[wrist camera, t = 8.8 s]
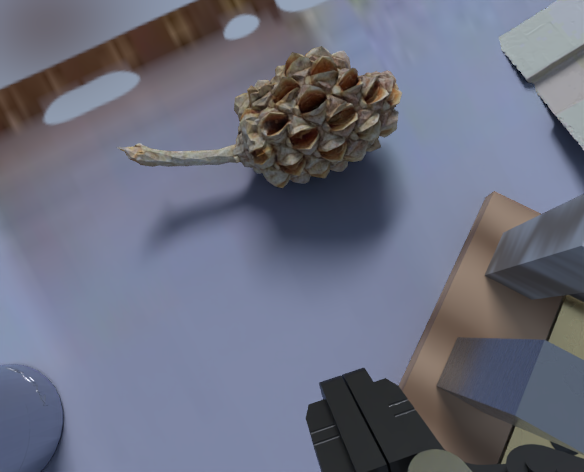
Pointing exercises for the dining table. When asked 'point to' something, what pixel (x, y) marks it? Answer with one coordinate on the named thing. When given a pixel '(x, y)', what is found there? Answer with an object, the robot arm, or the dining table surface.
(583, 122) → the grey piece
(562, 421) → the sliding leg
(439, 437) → the base
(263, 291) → the dining table surface
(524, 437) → the bolt plate
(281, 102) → the pine cone
